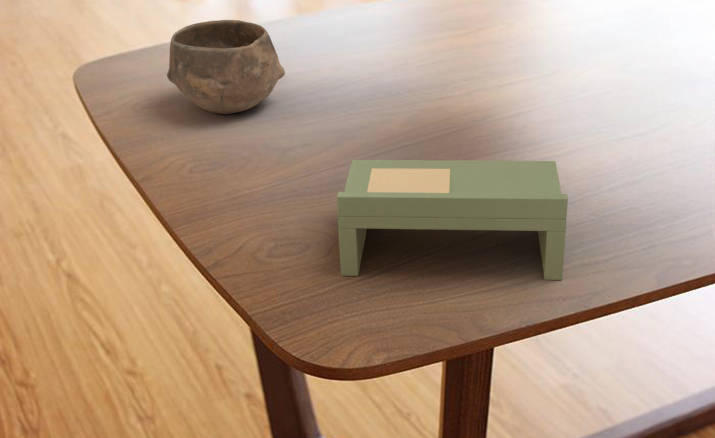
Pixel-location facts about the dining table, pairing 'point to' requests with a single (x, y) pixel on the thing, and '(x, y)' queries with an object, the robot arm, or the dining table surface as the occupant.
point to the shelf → (453, 202)
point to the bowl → (224, 65)
